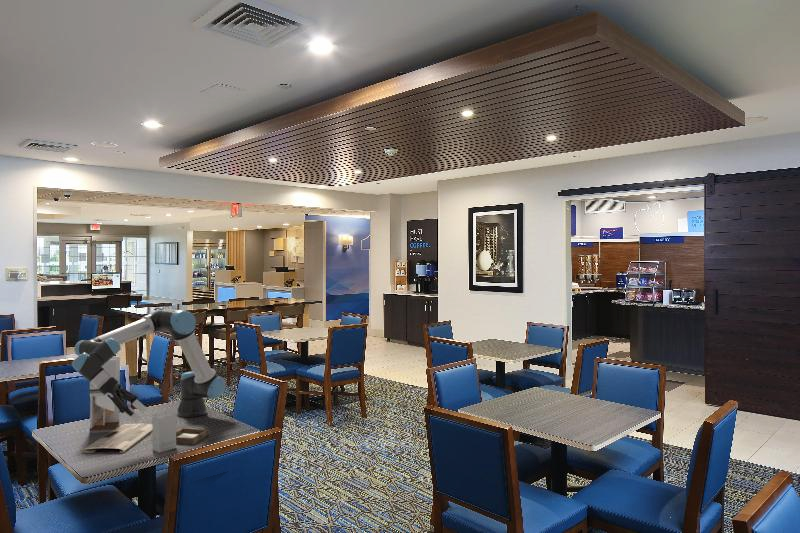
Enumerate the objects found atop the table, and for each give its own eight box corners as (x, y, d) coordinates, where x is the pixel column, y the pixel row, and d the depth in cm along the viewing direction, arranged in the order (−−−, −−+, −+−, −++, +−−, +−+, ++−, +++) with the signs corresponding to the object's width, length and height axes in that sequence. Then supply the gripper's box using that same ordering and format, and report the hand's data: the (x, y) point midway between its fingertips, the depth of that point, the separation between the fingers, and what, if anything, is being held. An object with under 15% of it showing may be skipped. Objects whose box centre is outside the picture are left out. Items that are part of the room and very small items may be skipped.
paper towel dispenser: (89, 433, 269) (90, 360, 268) (94, 427, 279) (94, 357, 278) (115, 431, 272) (116, 359, 272) (119, 425, 282) (119, 356, 282)
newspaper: (121, 429, 278) (121, 423, 278) (160, 428, 279) (160, 423, 279) (82, 454, 241) (82, 447, 241) (127, 454, 242) (128, 447, 242)
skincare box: (169, 445, 252) (169, 410, 252) (177, 448, 248) (177, 413, 248) (151, 449, 246) (151, 414, 246) (158, 453, 242) (159, 417, 242)
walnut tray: (182, 433, 269) (182, 427, 269) (208, 435, 267) (208, 429, 267) (165, 442, 256) (165, 436, 256) (192, 444, 254) (192, 438, 254)
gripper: (105, 382, 252) (141, 414, 256) (89, 395, 228) (128, 430, 232) (118, 370, 253) (153, 402, 257) (103, 382, 229) (142, 416, 233)
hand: (142, 415), depth 244 cm, fingers open, 13 cm apart
